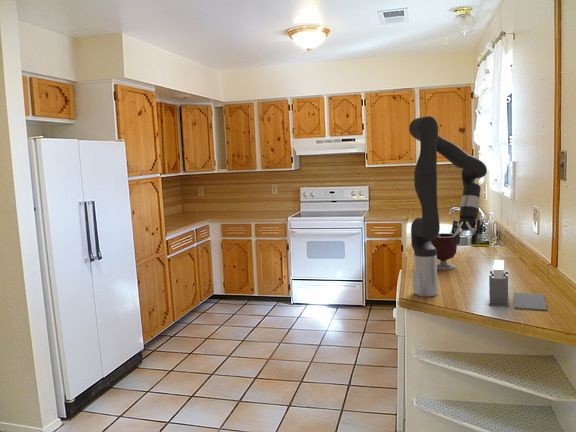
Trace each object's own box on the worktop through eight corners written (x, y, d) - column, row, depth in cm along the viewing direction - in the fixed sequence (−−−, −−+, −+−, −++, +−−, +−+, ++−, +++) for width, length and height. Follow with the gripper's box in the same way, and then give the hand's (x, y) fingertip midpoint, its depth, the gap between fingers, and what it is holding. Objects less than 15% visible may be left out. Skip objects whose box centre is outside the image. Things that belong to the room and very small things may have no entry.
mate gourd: (438, 263, 272) (437, 227, 270) (462, 266, 262) (461, 228, 260) (423, 268, 261) (422, 231, 259) (447, 271, 251) (446, 232, 249)
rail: (494, 268, 207) (494, 260, 206) (504, 268, 205) (504, 260, 205) (493, 278, 191) (493, 269, 190) (503, 278, 189) (503, 270, 189)
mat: (514, 293, 206) (514, 292, 206) (543, 295, 202) (543, 294, 202) (514, 308, 187) (514, 307, 187) (547, 310, 183) (547, 309, 183)
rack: (490, 297, 203) (489, 269, 202) (508, 299, 200) (508, 270, 199) (488, 305, 193) (488, 275, 192) (508, 306, 190) (508, 276, 189)
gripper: (450, 206, 217) (445, 242, 215) (477, 204, 205) (472, 242, 203) (462, 210, 221) (457, 245, 219) (489, 208, 209) (484, 246, 206)
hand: (464, 244), depth 211 cm, fingers open, 8 cm apart
